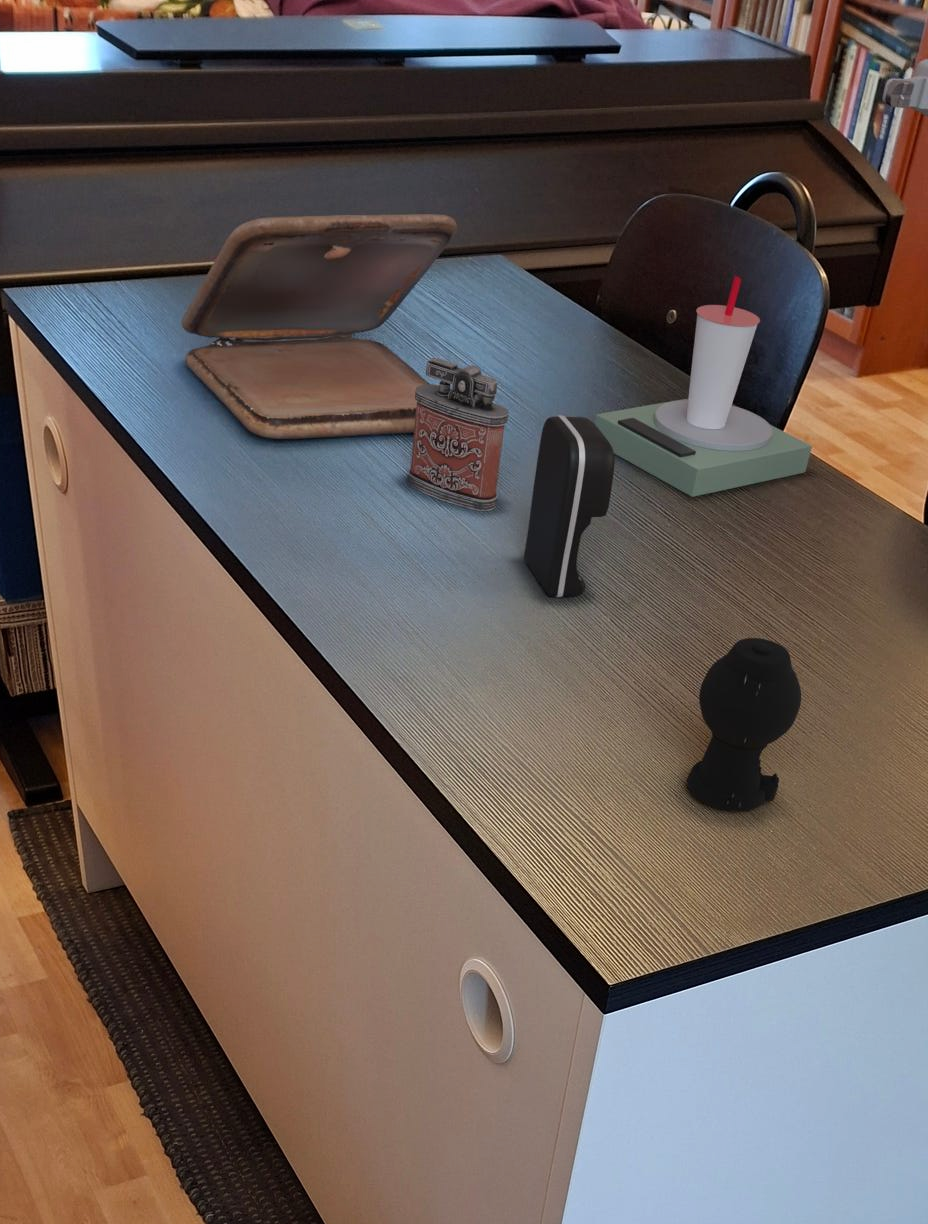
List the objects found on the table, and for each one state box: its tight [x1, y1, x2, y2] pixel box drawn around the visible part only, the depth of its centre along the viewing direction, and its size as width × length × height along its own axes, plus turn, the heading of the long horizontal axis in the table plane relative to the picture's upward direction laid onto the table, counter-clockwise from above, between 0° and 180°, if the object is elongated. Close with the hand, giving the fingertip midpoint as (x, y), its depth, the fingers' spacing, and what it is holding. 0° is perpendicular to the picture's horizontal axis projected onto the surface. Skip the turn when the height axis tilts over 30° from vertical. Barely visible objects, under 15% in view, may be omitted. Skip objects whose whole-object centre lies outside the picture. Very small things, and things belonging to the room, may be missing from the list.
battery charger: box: [523, 414, 616, 598], centre depth 115 cm, size 7×4×11 cm, turn 15°
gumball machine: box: [686, 627, 802, 819], centre depth 94 cm, size 7×6×10 cm
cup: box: [686, 274, 761, 429], centre depth 135 cm, size 5×5×12 cm
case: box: [181, 213, 458, 440], centre depth 136 cm, size 20×21×16 cm
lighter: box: [406, 356, 510, 512], centre depth 125 cm, size 8×3×10 cm, turn 58°
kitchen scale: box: [594, 398, 813, 498], centre depth 139 cm, size 14×13×3 cm
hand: (915, 106), depth 125 cm, fingers open, 8 cm apart
